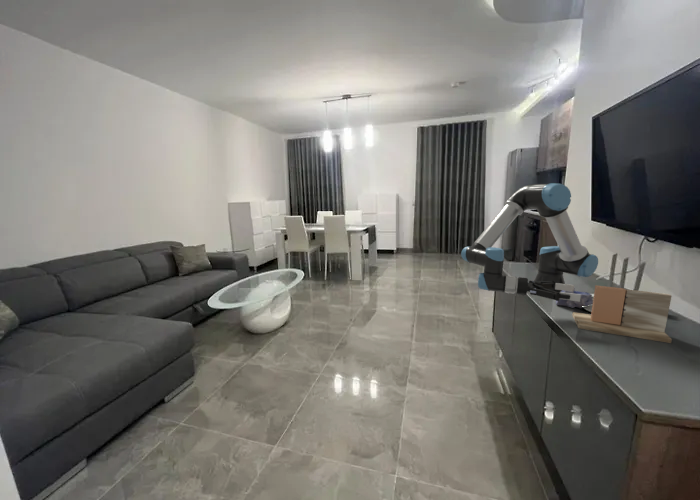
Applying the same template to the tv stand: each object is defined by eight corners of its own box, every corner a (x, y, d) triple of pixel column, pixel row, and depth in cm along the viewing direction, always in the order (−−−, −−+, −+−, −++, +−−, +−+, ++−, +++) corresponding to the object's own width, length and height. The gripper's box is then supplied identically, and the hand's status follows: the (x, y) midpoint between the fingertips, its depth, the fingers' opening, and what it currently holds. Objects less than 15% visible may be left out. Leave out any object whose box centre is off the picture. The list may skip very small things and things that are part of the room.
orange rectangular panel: (590, 318, 120) (595, 285, 117) (618, 322, 116) (623, 288, 113) (591, 320, 118) (596, 287, 115) (620, 324, 114) (625, 290, 111)
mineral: (562, 289, 134) (556, 281, 143) (557, 308, 137) (551, 299, 146) (602, 296, 129) (593, 287, 138) (595, 315, 132) (587, 306, 141)
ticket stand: (572, 315, 128) (576, 280, 125) (654, 327, 115) (661, 289, 113) (578, 328, 116) (583, 290, 113) (671, 343, 103) (679, 300, 100)
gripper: (515, 286, 141) (570, 293, 131) (516, 302, 119) (581, 312, 109) (517, 270, 139) (572, 276, 129) (518, 284, 118) (584, 292, 108)
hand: (577, 293), depth 119 cm, fingers open, 13 cm apart
